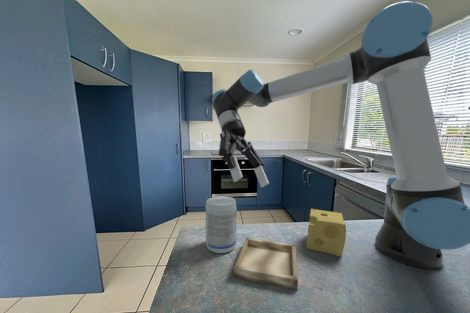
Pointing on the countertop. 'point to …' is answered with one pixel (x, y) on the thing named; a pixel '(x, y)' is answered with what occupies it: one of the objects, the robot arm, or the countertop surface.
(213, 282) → the countertop surface
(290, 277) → the tray
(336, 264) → the countertop surface
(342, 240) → the cheese
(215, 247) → the supplement tub
